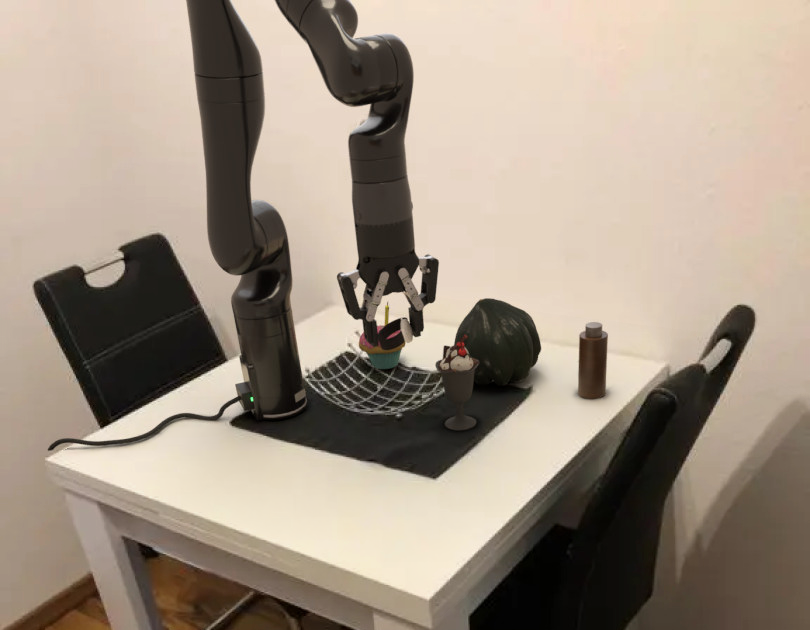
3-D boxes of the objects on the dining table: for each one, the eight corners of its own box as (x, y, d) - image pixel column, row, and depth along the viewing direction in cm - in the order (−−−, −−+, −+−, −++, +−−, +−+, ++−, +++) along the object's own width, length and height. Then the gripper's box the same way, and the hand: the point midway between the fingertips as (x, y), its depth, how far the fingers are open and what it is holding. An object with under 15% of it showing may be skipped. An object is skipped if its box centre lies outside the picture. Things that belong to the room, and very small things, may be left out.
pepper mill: (586, 401, 146) (589, 332, 139) (572, 391, 149) (574, 323, 143) (610, 394, 147) (613, 326, 140) (596, 385, 150) (598, 317, 144)
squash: (557, 329, 158) (498, 267, 153) (554, 367, 146) (490, 301, 141) (498, 379, 165) (440, 322, 161) (490, 419, 153) (427, 358, 149)
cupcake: (416, 359, 166) (411, 295, 159) (391, 377, 160) (385, 311, 154) (378, 352, 170) (371, 289, 164) (352, 369, 164) (344, 305, 158)
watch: (406, 354, 122) (404, 328, 120) (372, 354, 123) (369, 328, 121) (417, 332, 128) (415, 307, 126) (385, 332, 129) (382, 308, 127)
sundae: (479, 433, 139) (475, 340, 131) (436, 432, 141) (429, 340, 133) (484, 414, 145) (481, 324, 136) (443, 414, 146) (437, 324, 138)
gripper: (423, 199, 121) (431, 321, 130) (320, 218, 117) (337, 342, 126) (446, 210, 115) (453, 337, 124) (339, 230, 111) (354, 360, 120)
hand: (394, 339), depth 125 cm, fingers closed on watch, 5 cm apart
